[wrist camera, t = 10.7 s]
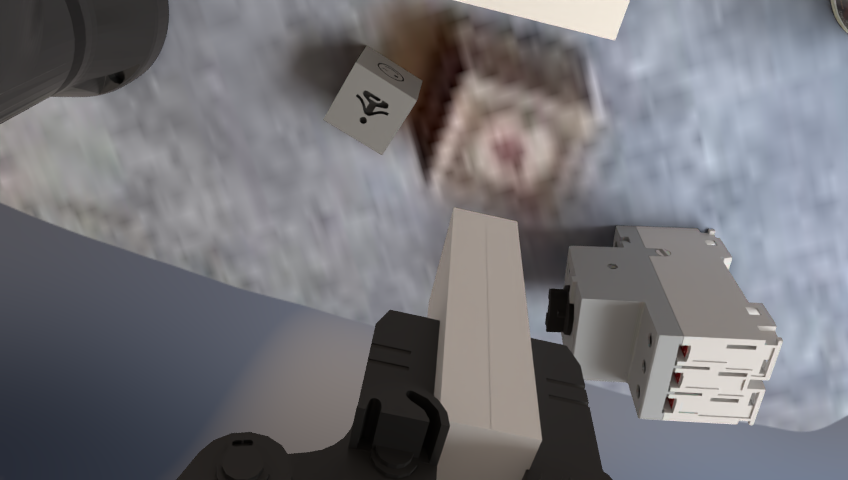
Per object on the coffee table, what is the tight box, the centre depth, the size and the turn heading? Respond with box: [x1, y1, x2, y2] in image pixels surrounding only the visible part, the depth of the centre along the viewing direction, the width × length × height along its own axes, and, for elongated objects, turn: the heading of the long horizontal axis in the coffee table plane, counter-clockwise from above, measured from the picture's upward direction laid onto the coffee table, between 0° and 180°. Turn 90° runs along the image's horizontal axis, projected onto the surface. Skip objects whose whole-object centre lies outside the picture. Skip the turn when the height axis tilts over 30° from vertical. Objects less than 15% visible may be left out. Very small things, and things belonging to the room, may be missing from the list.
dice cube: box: [323, 46, 422, 155], centre depth 48 cm, size 5×5×5 cm
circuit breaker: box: [545, 226, 783, 425], centre depth 50 cm, size 8×14×15 cm, turn 90°
